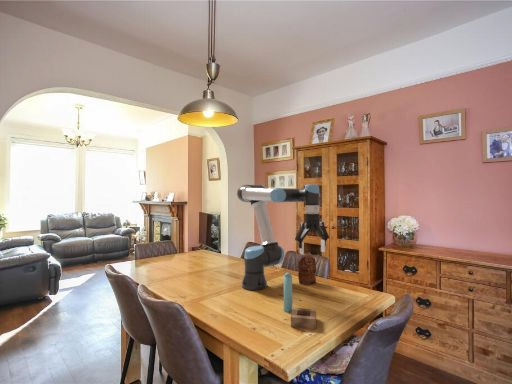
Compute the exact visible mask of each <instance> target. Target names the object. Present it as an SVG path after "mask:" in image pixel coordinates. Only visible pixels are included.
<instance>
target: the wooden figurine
mask: <svg viewBox="0 0 512 384" xmlns="http://www.w3.org/2000/svg"><path fill="white" fill-rule="evenodd" d="M316 262H317V261H316V259H315V258H314V257H313V255H312V254H309V253H304V255H302V254H301V256H300V257H299V260H298V262H297V268H298V277H297V278H298V284H299V285H302V284H303V285H304V286H310V285H313V284H314V283H315V284H316V283H317V279H316V272H317V267H316ZM303 285H302V286H303Z"/></svg>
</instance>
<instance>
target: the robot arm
mask: <svg viewBox="0 0 512 384" xmlns="http://www.w3.org/2000/svg"><path fill="white" fill-rule="evenodd" d="M236 192H237V193H236V195H237V198H238V200H239V201H241V202H243V203H250V207H252V208H253V211H254V214H255V218H256V223H257V227H258V231H259V235H260V240H261V244H260V245H253V246H249V247H247V248H246V249H245V250H244V256H243V257H244V275H243V278H242V280H241V287H242V288H243V289H245V290H247V291H248V290H249V291H261V290H264V289H266V288H267V287H268V281H267V279H266V275H265V268H267V267H271V266H277V265H279V264H281V263H283V261H284V259H285V251H284V249H283V247H282V246H281V245H279V242H278V240H276V239H275V236H274V235H275V234H274V232H273V231H274V230H273V227H272V223H271V219H270V218H271V217H270V214H269V210H268V206H267V205H268V204H269V202H273V203H304V204H305V205H304V213H305V214H304V220H305V222H300V224H299V228H298V231H297V234H295V235H296V236H295V238H294V241H297V242H298V249H299V254H300V255H301V256H302V255H304V254H305V247H304V245H305V243H304V240H305V238H306V237H307V235H308V234H309V233H310V232H315V231H316V233H317V234H318V235H319V237H320V238H321V239H320V252H321V253H326V246H327V241H328V239H330V236H329V233H328V231H327V228H326V227H325V222H324V221H320V185H318V184H315V183H314V184H310V183H308V184H305V185H304V188H289V187H288V188H284V187H283V188H282V187H277V188H276V187H267V186H266V185H261V184H242V185H241V186H240V187H238V189H237V191H236Z"/></svg>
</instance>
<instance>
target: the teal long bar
mask: <svg viewBox="0 0 512 384" xmlns="http://www.w3.org/2000/svg"><path fill="white" fill-rule="evenodd" d="M292 310H293V276H292V273H290V272H288V271H287V272H286V273H284V274H283V312H285V313H292Z"/></svg>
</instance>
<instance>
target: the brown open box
mask: <svg viewBox="0 0 512 384" xmlns="http://www.w3.org/2000/svg"><path fill="white" fill-rule="evenodd" d="M290 327H291V328H300V329H308V330H309V329H310V330H317V309H316V308H315V309H314V308H305V307H304V308H303V307H292V312H291V315H290Z"/></svg>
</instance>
